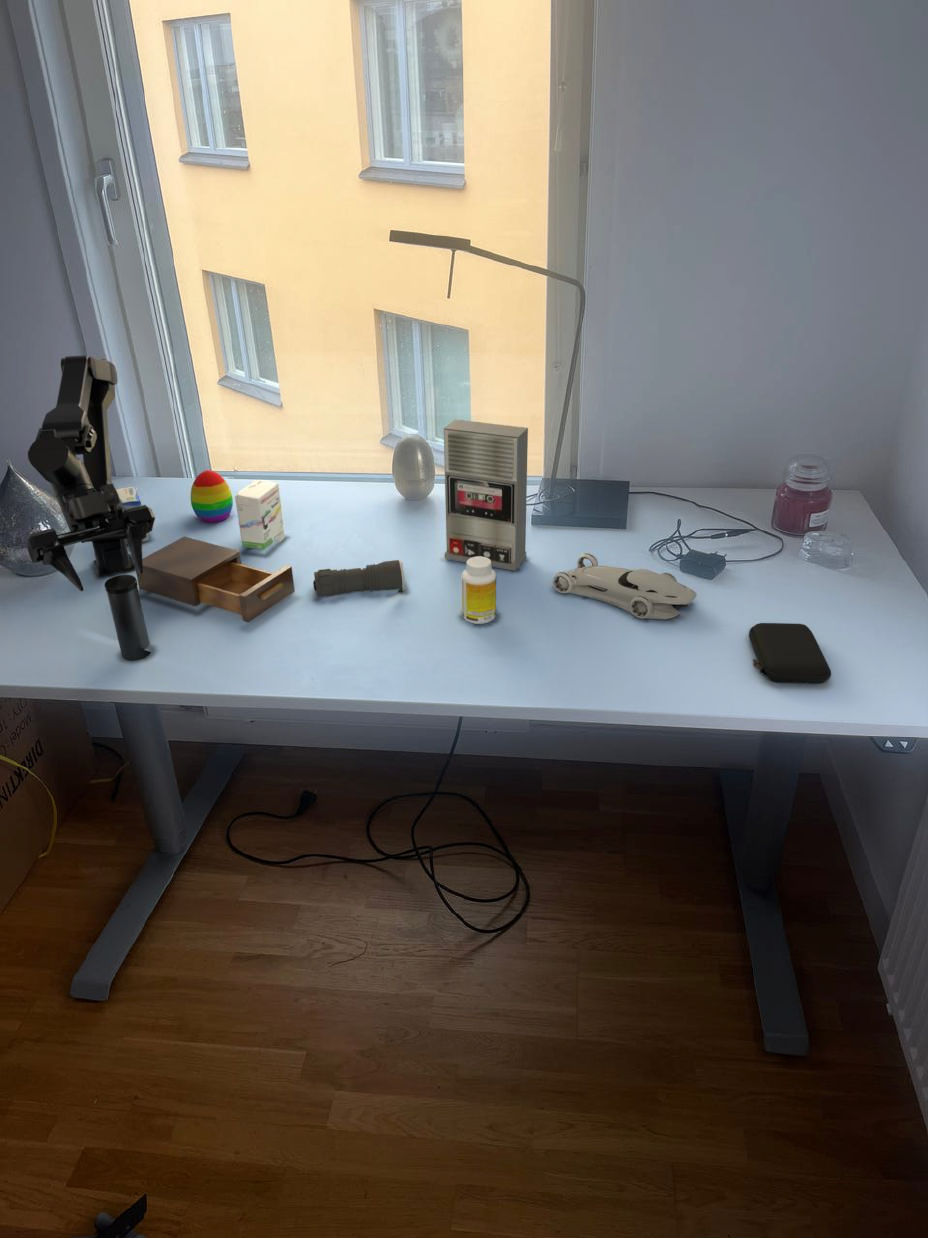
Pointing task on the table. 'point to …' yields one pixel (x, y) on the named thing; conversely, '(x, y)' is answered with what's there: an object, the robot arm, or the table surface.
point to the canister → (128, 616)
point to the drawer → (245, 589)
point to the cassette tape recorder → (486, 492)
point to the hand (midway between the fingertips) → (112, 581)
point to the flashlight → (360, 579)
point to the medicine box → (130, 500)
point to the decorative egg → (211, 497)
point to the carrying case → (788, 653)
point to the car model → (626, 588)
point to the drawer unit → (182, 568)
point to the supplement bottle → (479, 591)
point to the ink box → (260, 514)
